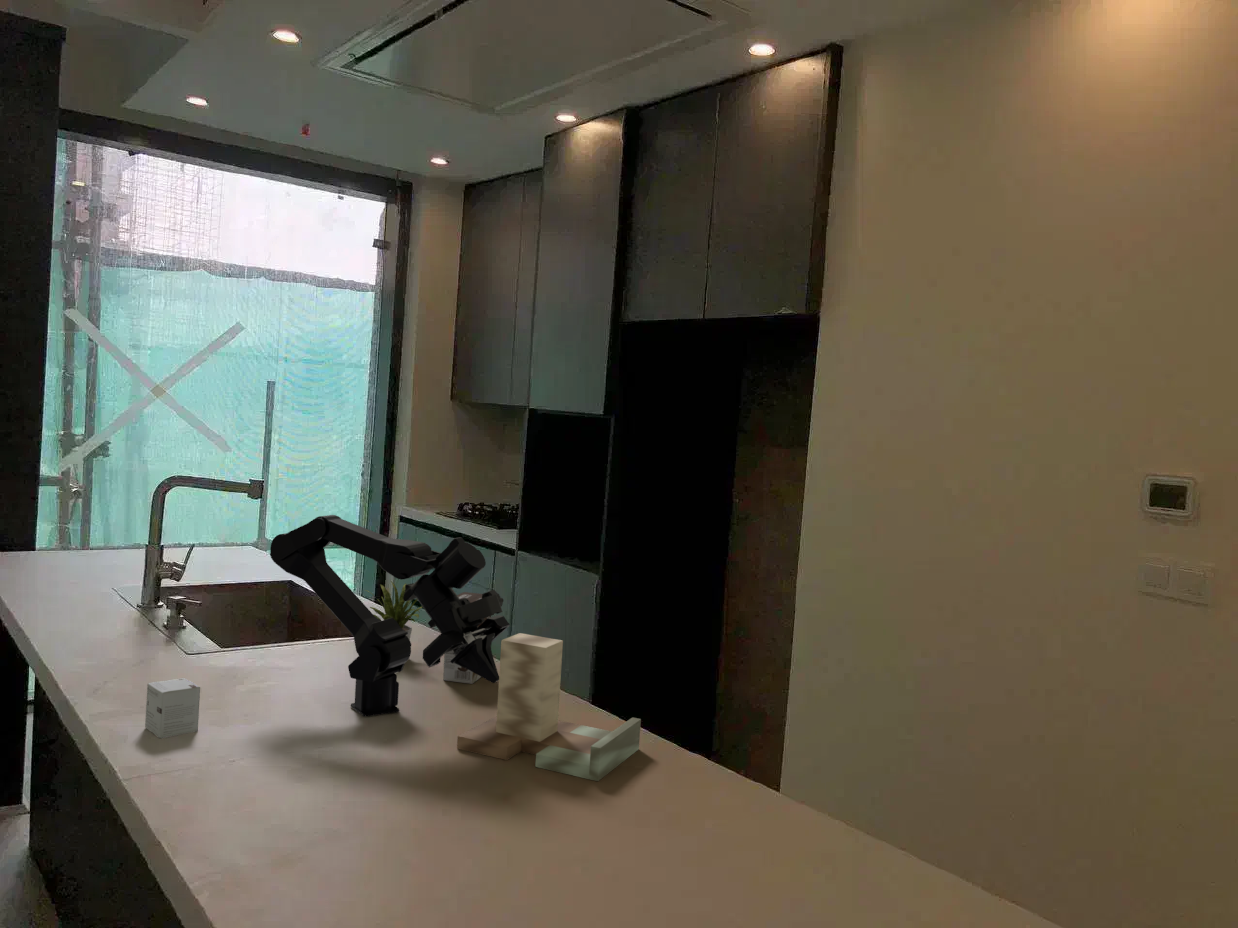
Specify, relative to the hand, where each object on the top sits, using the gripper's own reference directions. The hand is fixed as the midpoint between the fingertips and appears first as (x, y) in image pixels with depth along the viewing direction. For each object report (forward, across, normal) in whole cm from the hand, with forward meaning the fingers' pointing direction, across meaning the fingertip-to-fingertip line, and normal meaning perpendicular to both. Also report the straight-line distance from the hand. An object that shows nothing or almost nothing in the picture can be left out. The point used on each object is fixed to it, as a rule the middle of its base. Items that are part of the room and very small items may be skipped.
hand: (496, 681), depth 160 cm
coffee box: (-9, +27, +22) cm, 36 cm away
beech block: (+9, 0, +1) cm, 9 cm away
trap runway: (+14, 0, -1) cm, 14 cm away
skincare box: (-24, -26, +37) cm, 51 cm away
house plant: (-22, +31, +35) cm, 52 cm away
